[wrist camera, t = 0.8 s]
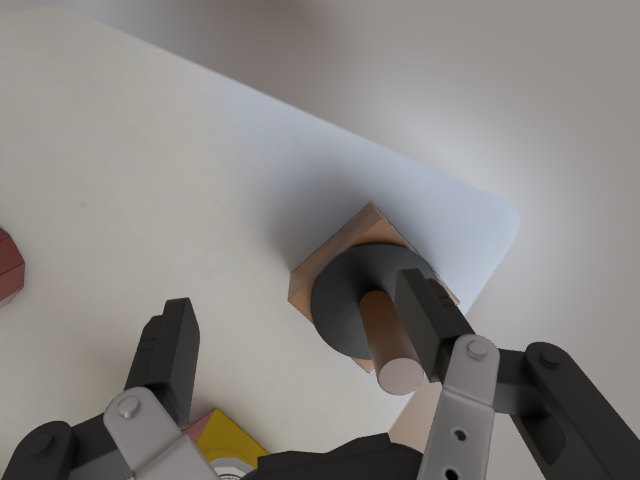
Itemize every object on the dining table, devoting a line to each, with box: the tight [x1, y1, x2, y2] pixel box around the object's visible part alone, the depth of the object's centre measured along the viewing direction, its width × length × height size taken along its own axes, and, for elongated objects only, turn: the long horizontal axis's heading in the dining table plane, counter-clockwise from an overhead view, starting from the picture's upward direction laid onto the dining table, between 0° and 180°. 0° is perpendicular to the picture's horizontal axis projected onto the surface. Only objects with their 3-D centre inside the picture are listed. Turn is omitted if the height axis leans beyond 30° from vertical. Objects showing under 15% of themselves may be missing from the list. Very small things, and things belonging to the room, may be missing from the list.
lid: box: [310, 241, 439, 395], centre depth 24 cm, size 10×10×9 cm
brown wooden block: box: [288, 202, 460, 373], centre depth 31 cm, size 10×10×5 cm
